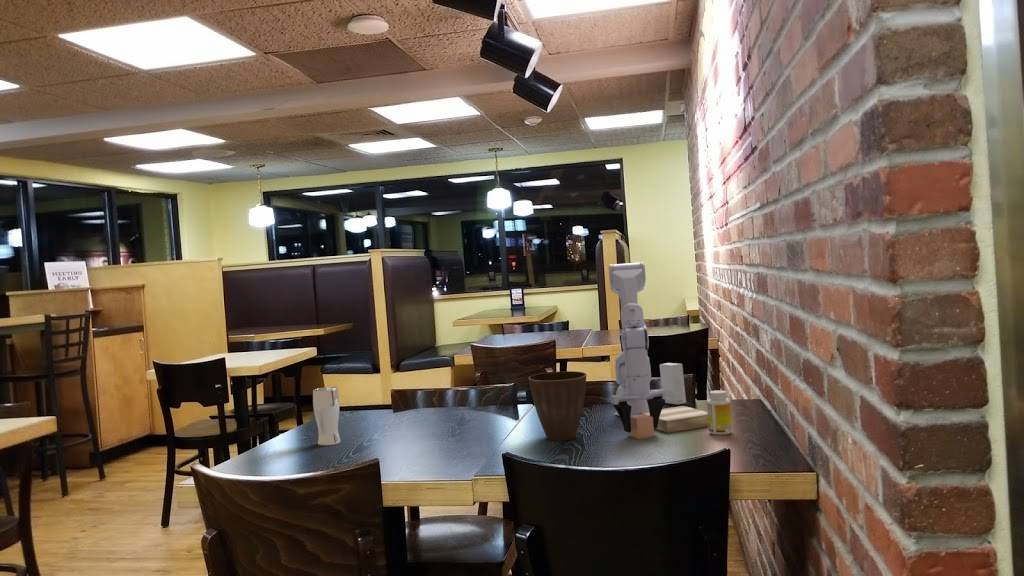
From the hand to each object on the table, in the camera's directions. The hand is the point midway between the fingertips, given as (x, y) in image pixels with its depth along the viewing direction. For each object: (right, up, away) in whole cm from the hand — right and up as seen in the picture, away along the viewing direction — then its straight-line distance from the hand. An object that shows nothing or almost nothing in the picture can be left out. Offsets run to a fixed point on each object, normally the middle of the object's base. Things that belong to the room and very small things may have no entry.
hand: (641, 429), depth 178 cm
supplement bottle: (+19, -1, -3) cm, 19 cm away
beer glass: (-83, -8, +18) cm, 85 cm away
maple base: (+11, -1, +10) cm, 15 cm away
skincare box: (+17, 0, +40) cm, 44 cm away
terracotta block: (0, -2, 0) cm, 2 cm away
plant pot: (-20, -3, +5) cm, 20 cm away
